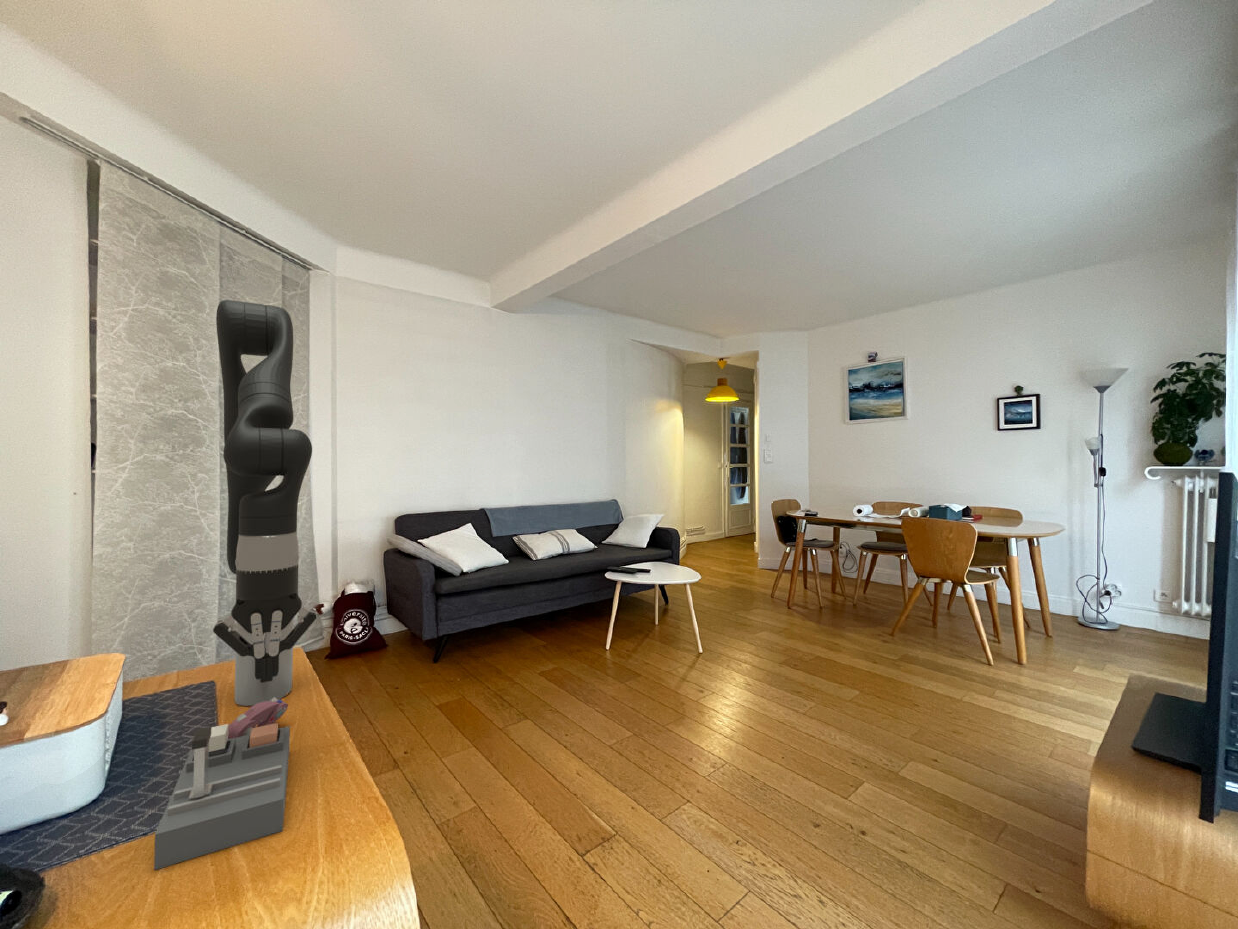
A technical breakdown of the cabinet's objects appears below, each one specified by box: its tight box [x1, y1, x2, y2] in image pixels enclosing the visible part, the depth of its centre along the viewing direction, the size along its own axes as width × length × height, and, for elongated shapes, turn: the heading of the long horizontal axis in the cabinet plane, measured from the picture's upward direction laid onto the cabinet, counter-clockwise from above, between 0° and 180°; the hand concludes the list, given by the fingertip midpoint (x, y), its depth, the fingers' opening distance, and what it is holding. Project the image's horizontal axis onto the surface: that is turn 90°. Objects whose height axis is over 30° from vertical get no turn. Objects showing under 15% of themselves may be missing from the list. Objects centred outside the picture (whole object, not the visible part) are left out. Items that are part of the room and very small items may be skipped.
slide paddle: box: [189, 726, 213, 801], centre depth 62 cm, size 3×2×8 cm, turn 32°
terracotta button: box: [250, 722, 279, 748], centre depth 74 cm, size 3×3×2 cm
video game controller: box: [228, 697, 289, 739], centre depth 83 cm, size 10×5×7 cm, turn 169°
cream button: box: [209, 723, 229, 752], centre depth 71 cm, size 3×3×2 cm
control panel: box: [153, 725, 291, 871], centre depth 68 cm, size 20×12×5 cm, turn 31°
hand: (266, 679), depth 74 cm, fingers closed
